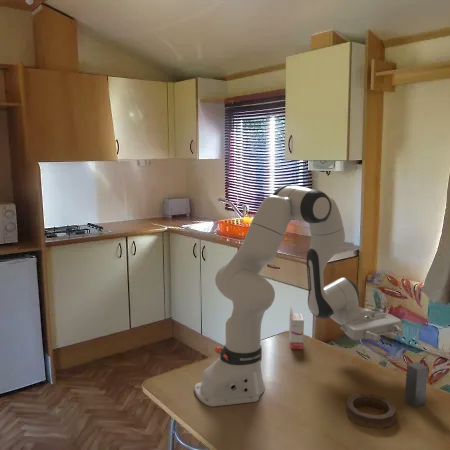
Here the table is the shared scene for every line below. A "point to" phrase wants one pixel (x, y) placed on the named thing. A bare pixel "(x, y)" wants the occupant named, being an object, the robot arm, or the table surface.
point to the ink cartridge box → (296, 330)
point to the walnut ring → (370, 420)
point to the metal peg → (416, 384)
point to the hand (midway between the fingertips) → (389, 335)
